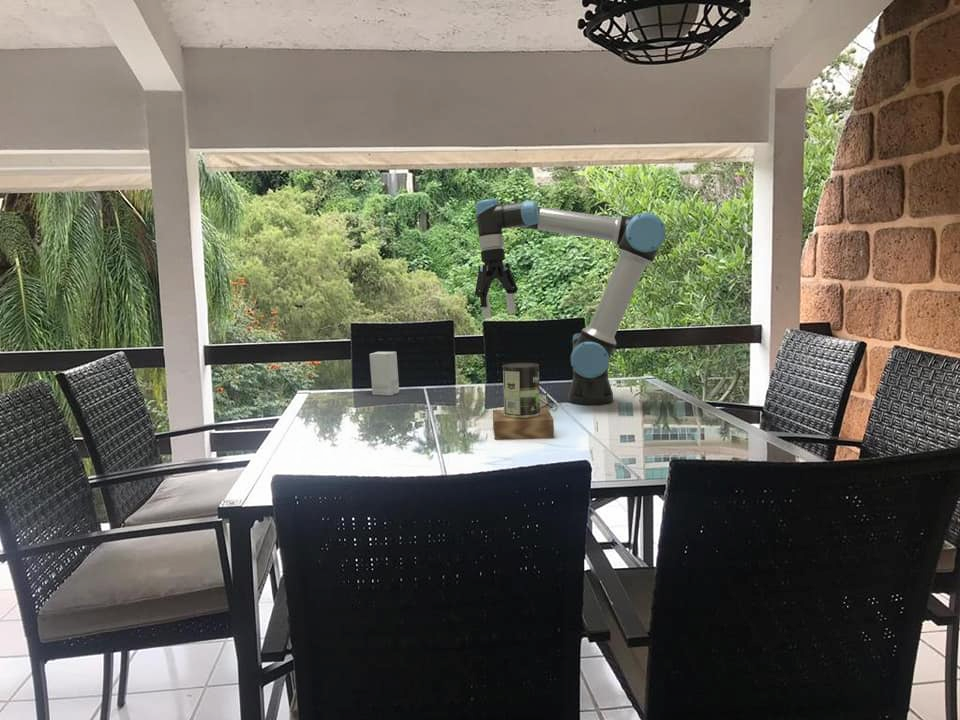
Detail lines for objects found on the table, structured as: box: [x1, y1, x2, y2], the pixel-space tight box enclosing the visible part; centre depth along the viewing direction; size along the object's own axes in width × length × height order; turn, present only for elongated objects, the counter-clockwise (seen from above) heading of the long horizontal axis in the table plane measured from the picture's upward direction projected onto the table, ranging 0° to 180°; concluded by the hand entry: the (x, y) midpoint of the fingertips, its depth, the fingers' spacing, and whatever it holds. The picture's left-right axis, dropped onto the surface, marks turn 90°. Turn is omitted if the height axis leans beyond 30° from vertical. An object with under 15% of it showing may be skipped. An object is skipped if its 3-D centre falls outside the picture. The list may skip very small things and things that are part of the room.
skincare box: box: [369, 351, 400, 396], centre depth 287 cm, size 8×7×16 cm
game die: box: [539, 392, 554, 411], centre depth 237 cm, size 9×8×10 cm
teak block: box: [492, 408, 555, 440], centre depth 219 cm, size 16×16×5 cm
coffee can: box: [501, 362, 540, 418], centre depth 218 cm, size 10×10×14 cm
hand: (499, 315), depth 250 cm, fingers open, 13 cm apart
